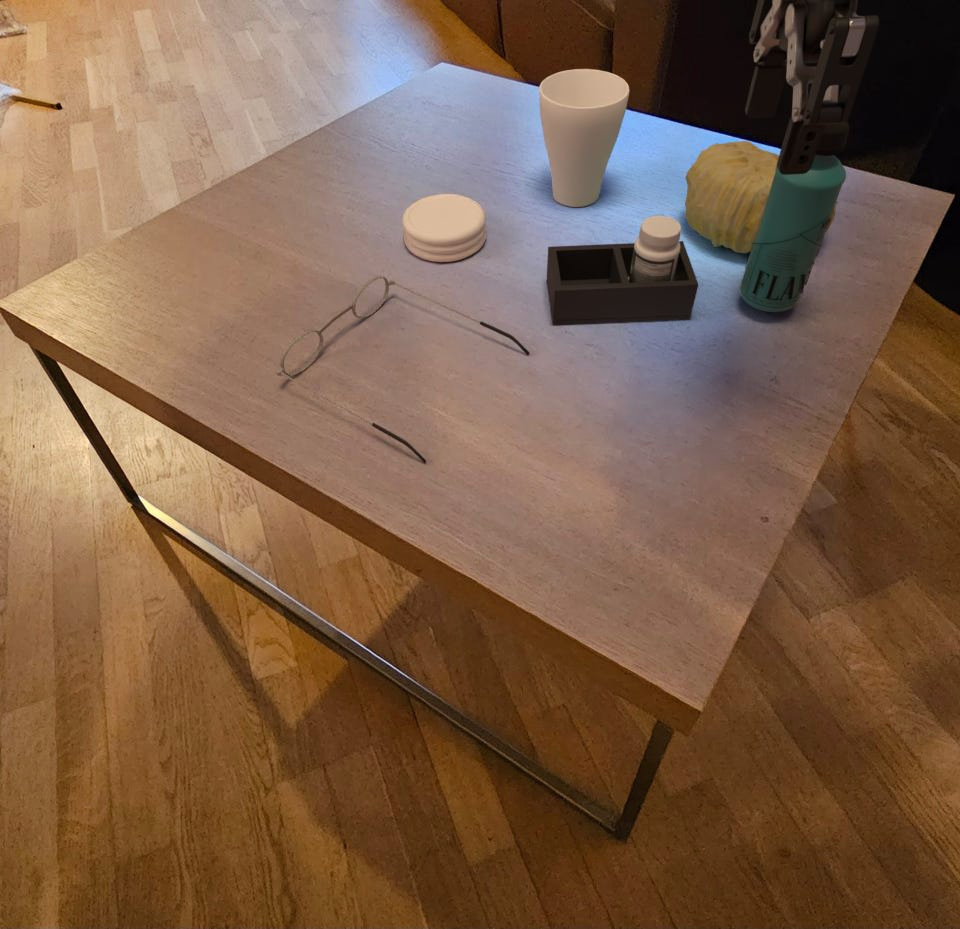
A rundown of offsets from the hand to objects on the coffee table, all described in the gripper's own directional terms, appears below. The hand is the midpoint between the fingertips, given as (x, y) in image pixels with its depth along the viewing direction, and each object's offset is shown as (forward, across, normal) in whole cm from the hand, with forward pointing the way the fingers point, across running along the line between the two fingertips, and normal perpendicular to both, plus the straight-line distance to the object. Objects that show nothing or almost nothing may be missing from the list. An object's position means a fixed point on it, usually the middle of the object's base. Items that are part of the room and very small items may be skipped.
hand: (774, 142), depth 53 cm
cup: (+24, +35, +9) cm, 43 cm away
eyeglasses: (+24, +3, +30) cm, 39 cm away
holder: (+24, +13, +7) cm, 28 cm away
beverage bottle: (+24, +11, -9) cm, 28 cm away
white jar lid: (+24, +26, +26) cm, 44 cm away
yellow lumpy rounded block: (+24, +25, -11) cm, 36 cm away
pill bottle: (+23, +13, +4) cm, 27 cm away
